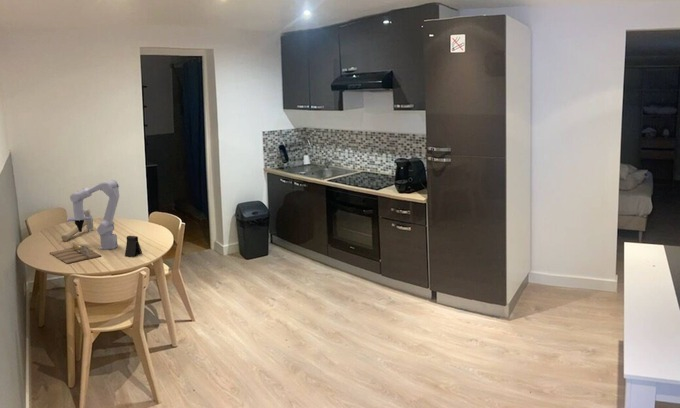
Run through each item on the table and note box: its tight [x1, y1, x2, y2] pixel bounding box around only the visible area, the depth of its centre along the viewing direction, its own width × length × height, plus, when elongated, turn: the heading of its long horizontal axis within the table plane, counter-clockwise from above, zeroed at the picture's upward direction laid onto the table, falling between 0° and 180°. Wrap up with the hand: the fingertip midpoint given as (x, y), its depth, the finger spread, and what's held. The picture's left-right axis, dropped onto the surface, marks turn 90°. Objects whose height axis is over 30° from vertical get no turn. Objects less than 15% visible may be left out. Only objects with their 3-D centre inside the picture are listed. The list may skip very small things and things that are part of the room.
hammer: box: [60, 208, 94, 242], centre depth 375 cm, size 16×5×30 cm
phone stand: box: [124, 235, 143, 258], centre depth 334 cm, size 9×6×12 cm, turn 164°
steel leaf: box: [78, 247, 89, 257], centre depth 331 cm, size 13×2×4 cm, turn 46°
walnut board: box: [49, 245, 102, 265], centre depth 333 cm, size 28×20×1 cm
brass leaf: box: [71, 241, 83, 251], centre depth 338 cm, size 13×2×4 cm, turn 44°
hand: (80, 231), depth 351 cm, fingers closed
